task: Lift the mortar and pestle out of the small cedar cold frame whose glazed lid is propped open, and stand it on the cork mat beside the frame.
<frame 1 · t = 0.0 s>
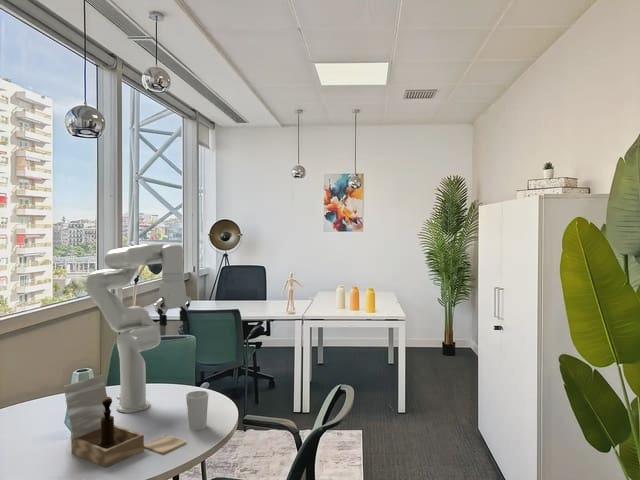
hand: (173, 323, 192), 37 cm above the table, tool pointing down, fingers open, 9 cm apart
cold frame: (108, 451, 167), on the table
cup: (197, 427, 187), on the table
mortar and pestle: (108, 452, 167), resting in cold frame
cork mat: (164, 445, 172), on the table
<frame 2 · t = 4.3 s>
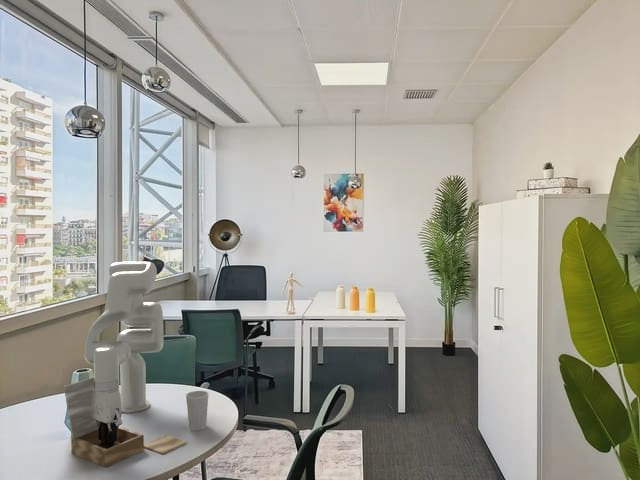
hand: (107, 439, 167), 4 cm above the table, tool pointing down, fingers closed on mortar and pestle, 3 cm apart
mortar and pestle: (108, 452, 167), resting in cold frame, touching gripper
everything else where it was.
when the fingers open (6 cm above the table, at t = 10.3 s): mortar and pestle drops 2 cm, resting on cork mat.
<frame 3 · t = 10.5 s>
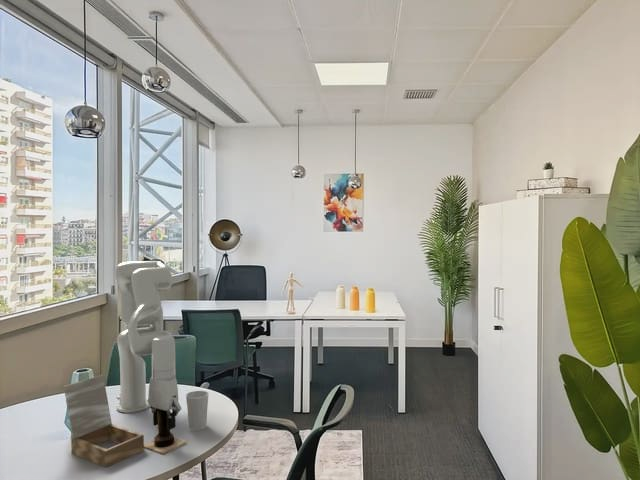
hand: (164, 426, 172), 7 cm above the table, tool pointing down, fingers open, 6 cm apart
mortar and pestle: (164, 443, 172), resting on cork mat
everything else where it was.
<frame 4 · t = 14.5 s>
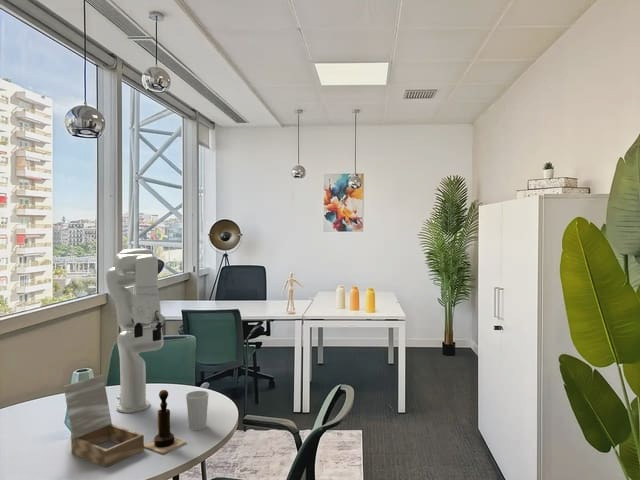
hand: (147, 338, 182), 33 cm above the table, tool pointing down, fingers open, 9 cm apart
nothing on the table moved.
at the end: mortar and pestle inside the target area on the cork mat (0.2 cm from its centre), point 0.4 cm above the cork mat's base; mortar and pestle tilted 0°; the gripper is holding nothing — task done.
